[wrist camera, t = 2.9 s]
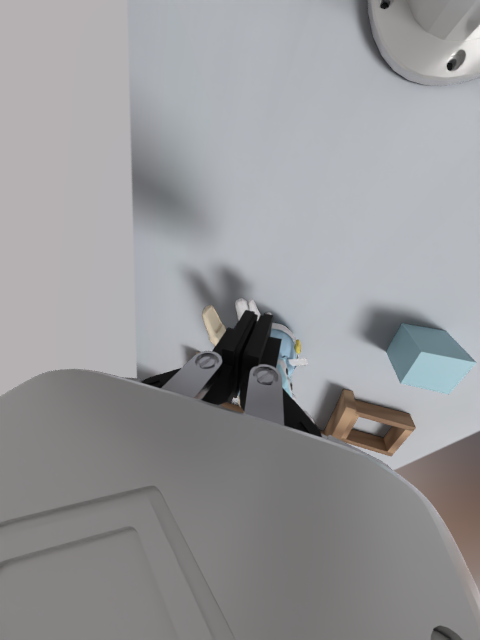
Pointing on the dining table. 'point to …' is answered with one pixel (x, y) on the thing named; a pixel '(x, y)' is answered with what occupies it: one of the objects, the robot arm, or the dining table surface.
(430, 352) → the block
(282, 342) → the toy figure
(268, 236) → the dining table surface
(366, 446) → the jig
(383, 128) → the dining table surface
